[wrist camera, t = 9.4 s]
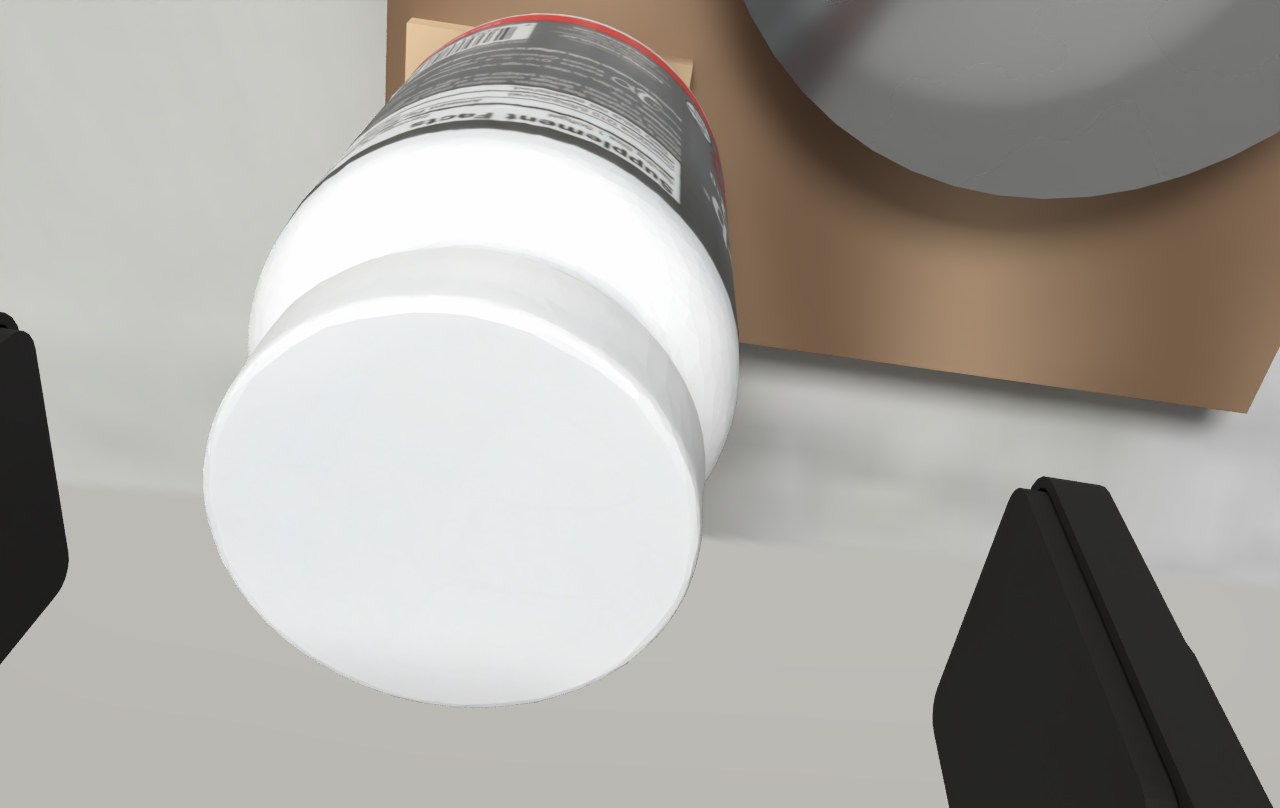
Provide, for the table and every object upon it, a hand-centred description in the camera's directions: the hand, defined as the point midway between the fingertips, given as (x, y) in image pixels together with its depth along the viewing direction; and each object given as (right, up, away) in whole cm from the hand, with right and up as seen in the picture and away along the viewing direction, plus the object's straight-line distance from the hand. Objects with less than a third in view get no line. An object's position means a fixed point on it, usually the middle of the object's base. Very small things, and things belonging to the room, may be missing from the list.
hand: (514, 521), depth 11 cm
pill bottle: (0, +5, +8) cm, 10 cm away
